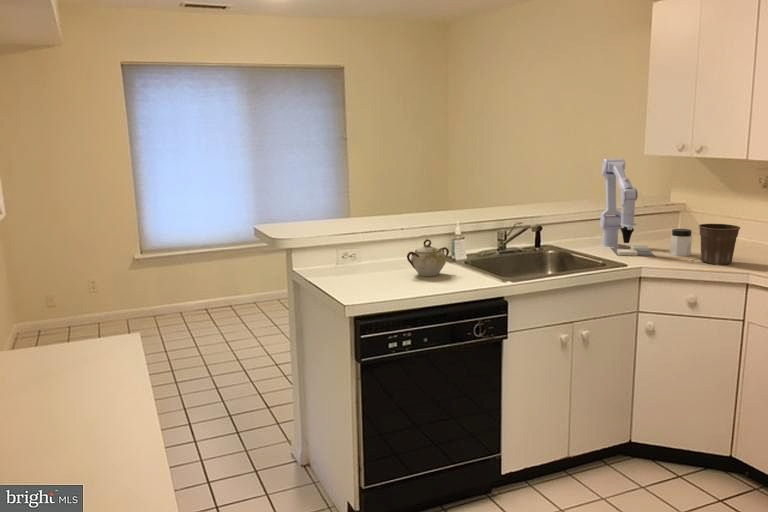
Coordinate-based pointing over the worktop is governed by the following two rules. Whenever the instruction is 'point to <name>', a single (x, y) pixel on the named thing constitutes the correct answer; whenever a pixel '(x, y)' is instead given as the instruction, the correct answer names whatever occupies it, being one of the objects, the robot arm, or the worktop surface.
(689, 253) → the jar
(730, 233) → the plant pot
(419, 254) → the sugar bowl
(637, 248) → the tile
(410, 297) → the worktop surface
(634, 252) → the tile
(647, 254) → the mat
